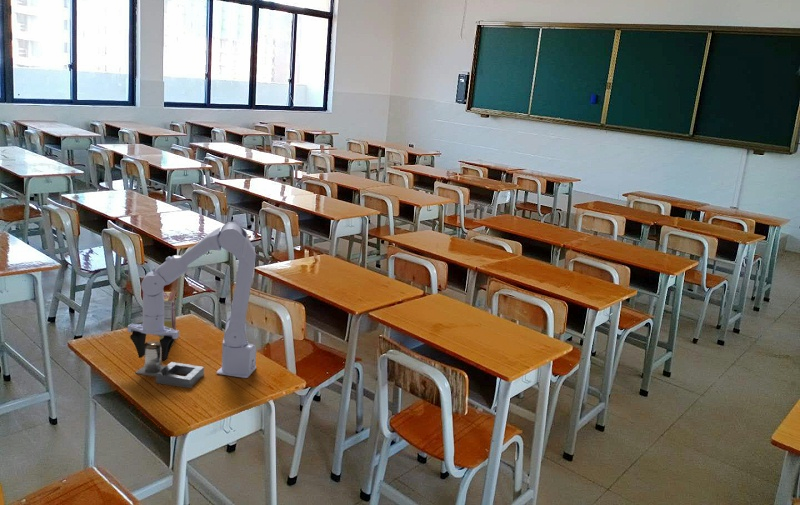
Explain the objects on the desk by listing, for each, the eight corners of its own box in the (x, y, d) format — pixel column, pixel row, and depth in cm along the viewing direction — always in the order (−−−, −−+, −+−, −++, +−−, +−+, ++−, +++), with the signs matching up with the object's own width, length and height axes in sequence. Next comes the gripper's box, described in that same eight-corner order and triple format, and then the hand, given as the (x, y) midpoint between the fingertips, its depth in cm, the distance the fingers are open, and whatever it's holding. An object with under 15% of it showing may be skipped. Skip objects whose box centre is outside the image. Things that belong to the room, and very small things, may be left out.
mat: (170, 367, 192) (170, 366, 192) (158, 377, 185) (158, 376, 185) (147, 363, 193) (147, 362, 193) (135, 373, 186) (135, 372, 186)
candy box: (162, 335, 214) (162, 291, 211) (176, 335, 215) (176, 291, 212) (158, 346, 206) (158, 300, 202) (172, 346, 207) (173, 300, 203)
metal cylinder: (164, 368, 190) (164, 342, 189) (155, 374, 186) (155, 347, 184) (150, 365, 191) (151, 339, 190) (141, 371, 187) (141, 345, 185)
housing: (203, 374, 189) (204, 366, 189) (189, 388, 181) (190, 379, 180) (171, 369, 191) (171, 361, 190) (155, 382, 182) (155, 374, 181)
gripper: (184, 312, 188) (183, 356, 191) (136, 305, 190) (136, 349, 193) (172, 320, 181) (172, 365, 184) (123, 313, 183) (123, 358, 186)
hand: (153, 358), depth 188 cm, fingers open, 6 cm apart
